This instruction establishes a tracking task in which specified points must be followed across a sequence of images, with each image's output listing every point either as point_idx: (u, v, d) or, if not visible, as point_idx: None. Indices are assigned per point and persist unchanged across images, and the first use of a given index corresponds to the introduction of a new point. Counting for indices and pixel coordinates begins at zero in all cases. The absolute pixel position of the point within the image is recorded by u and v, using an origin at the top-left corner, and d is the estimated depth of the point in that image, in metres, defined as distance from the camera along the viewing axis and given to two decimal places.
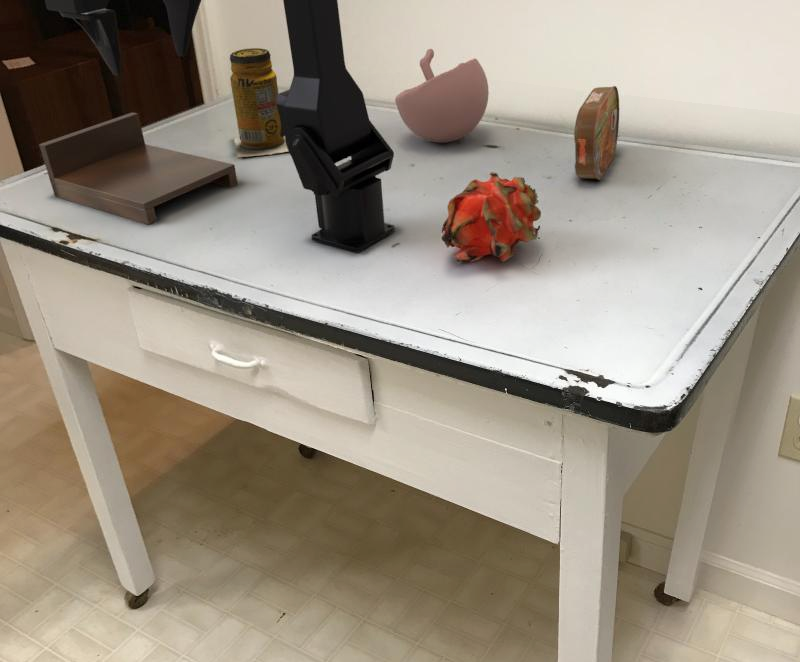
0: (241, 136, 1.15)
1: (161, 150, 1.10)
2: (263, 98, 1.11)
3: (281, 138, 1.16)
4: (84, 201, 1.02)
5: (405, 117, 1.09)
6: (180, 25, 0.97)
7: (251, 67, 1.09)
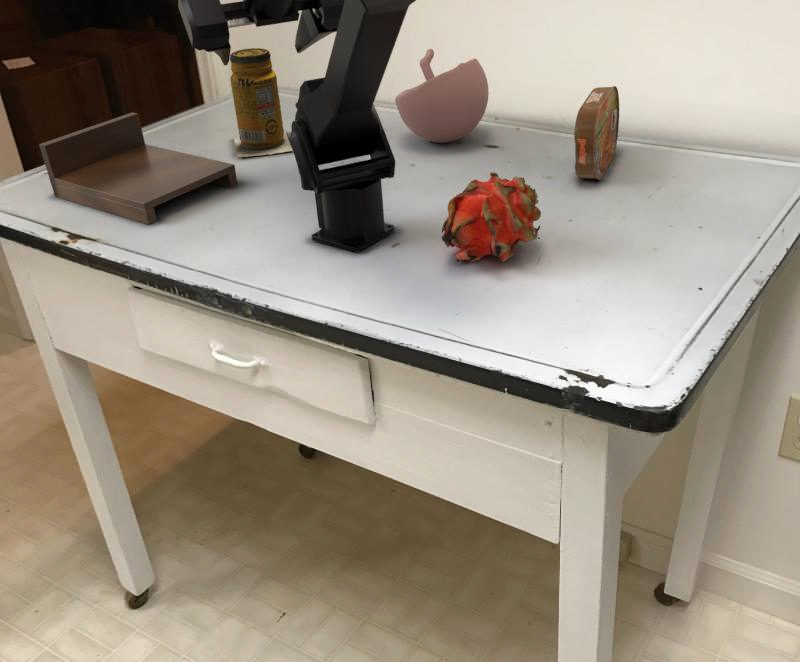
0: (241, 136, 1.15)
1: (161, 150, 1.10)
2: (263, 98, 1.11)
3: (281, 138, 1.16)
4: (84, 201, 1.02)
5: (405, 117, 1.09)
6: (303, 37, 1.01)
7: (251, 67, 1.09)
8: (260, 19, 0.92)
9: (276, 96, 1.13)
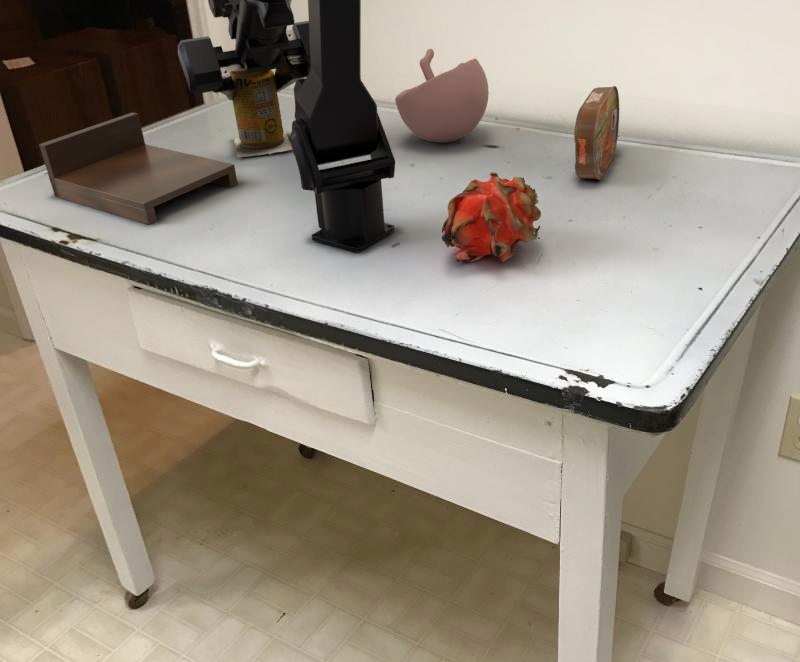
0: (241, 136, 1.15)
1: (161, 150, 1.10)
2: (262, 97, 1.11)
3: (281, 137, 1.16)
4: (84, 201, 1.02)
5: (405, 117, 1.09)
6: (280, 79, 1.12)
7: None
8: (250, 67, 1.03)
9: (274, 95, 1.13)
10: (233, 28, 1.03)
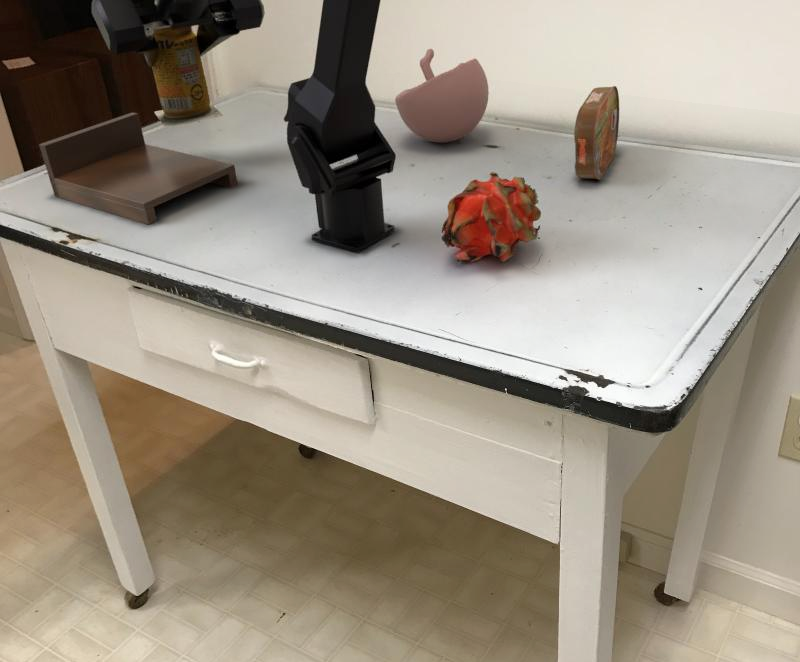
0: (164, 106, 1.06)
1: (161, 150, 1.10)
2: (186, 60, 1.03)
3: (208, 105, 1.07)
4: (84, 201, 1.02)
5: (405, 117, 1.09)
6: (204, 41, 1.03)
7: (170, 27, 1.01)
8: (176, 22, 0.95)
9: (199, 58, 1.04)
10: None
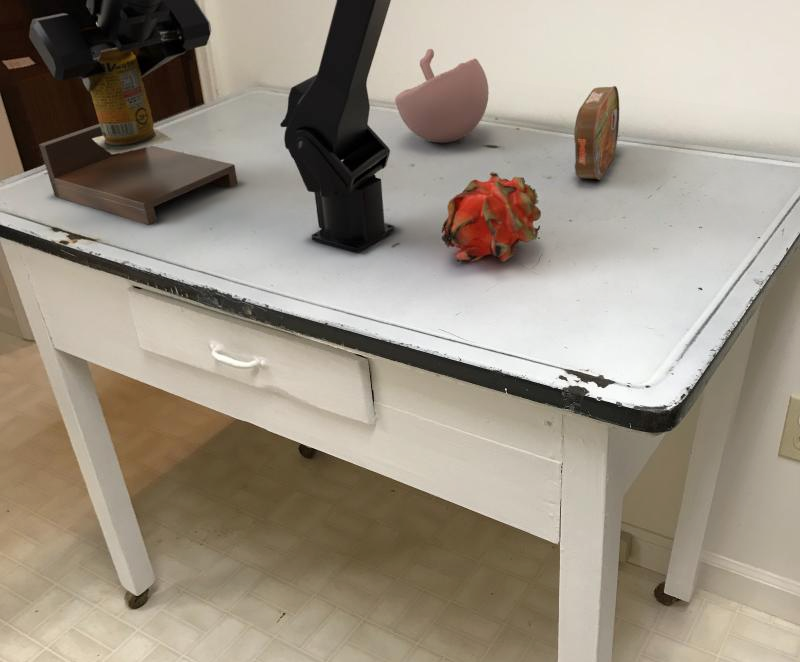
0: (106, 132, 1.00)
1: (161, 150, 1.10)
2: (129, 83, 0.97)
3: (152, 129, 1.02)
4: (84, 201, 1.02)
5: (405, 117, 1.09)
6: (146, 61, 0.98)
7: None
8: (124, 44, 0.89)
9: (141, 80, 0.99)
10: (95, 0, 0.88)
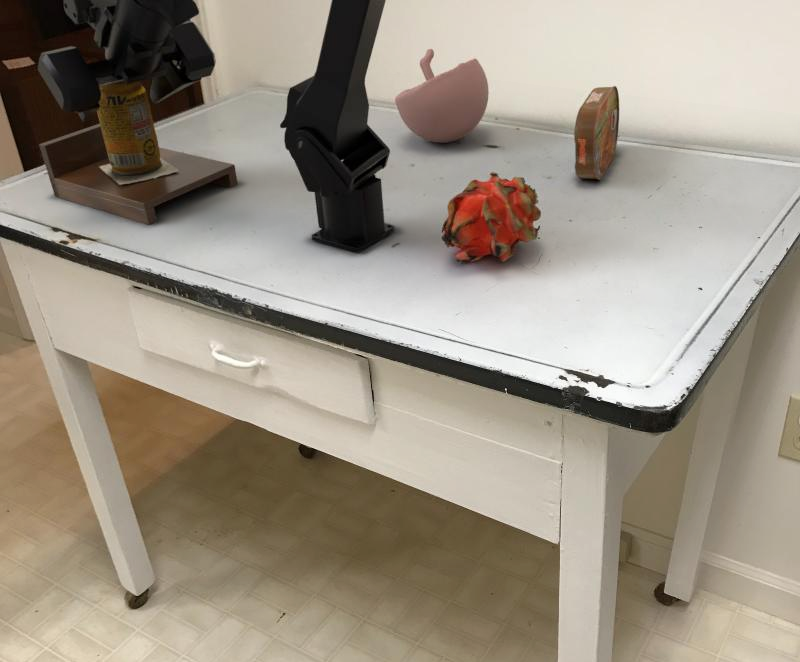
0: (114, 162, 1.02)
1: (161, 150, 1.10)
2: (139, 116, 0.99)
3: (159, 159, 1.04)
4: (84, 201, 1.02)
5: (405, 117, 1.09)
6: (162, 88, 1.01)
7: (122, 83, 0.97)
8: (131, 77, 0.91)
9: (150, 113, 1.01)
10: (103, 34, 0.90)
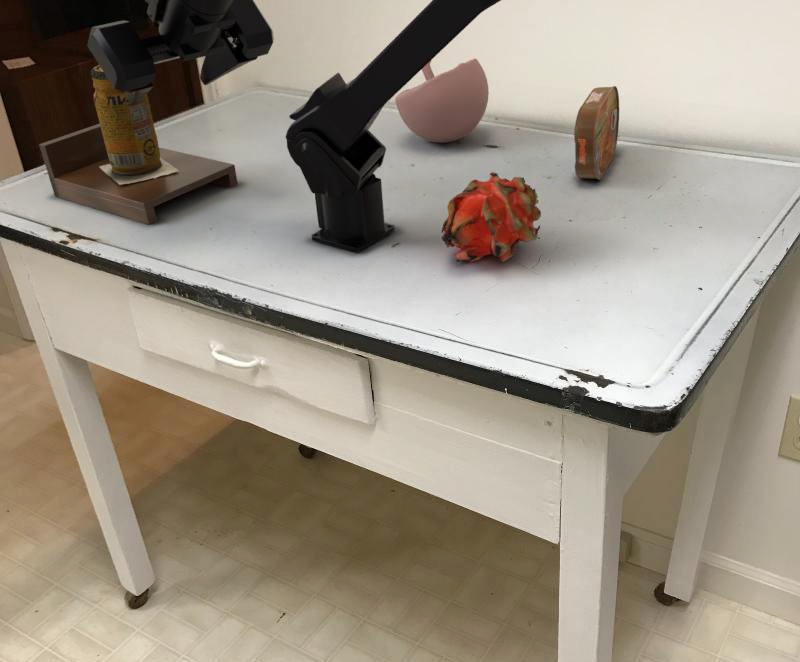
0: (114, 162, 1.02)
1: (161, 150, 1.10)
2: (139, 116, 0.99)
3: (159, 159, 1.04)
4: (84, 201, 1.02)
5: (405, 117, 1.09)
6: (215, 67, 0.94)
7: None
8: (187, 53, 0.84)
9: (150, 113, 1.01)
10: (158, 7, 0.83)
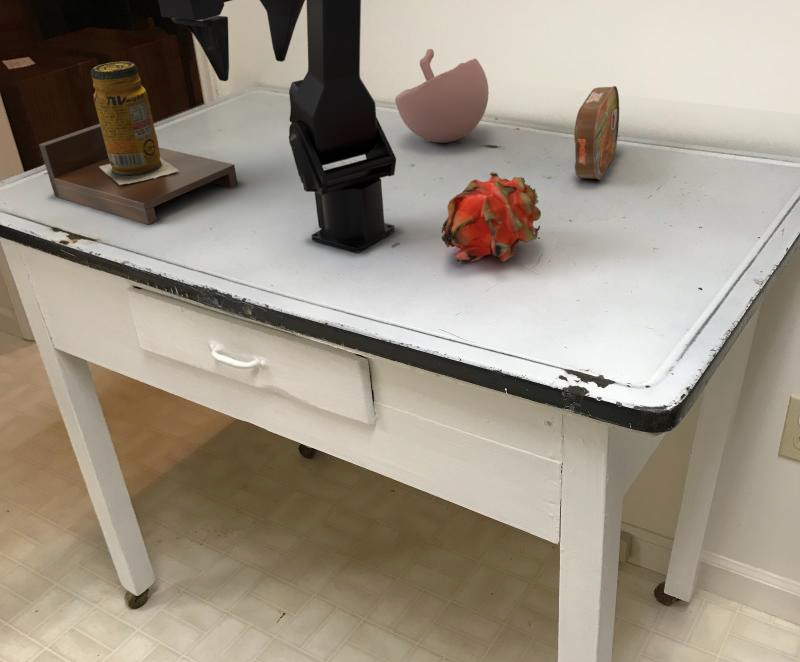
0: (114, 162, 1.02)
1: (161, 150, 1.10)
2: (139, 116, 0.99)
3: (159, 159, 1.04)
4: (84, 201, 1.02)
5: (405, 117, 1.09)
6: (281, 31, 0.99)
7: (122, 83, 0.97)
8: None
9: (150, 113, 1.01)
10: None
